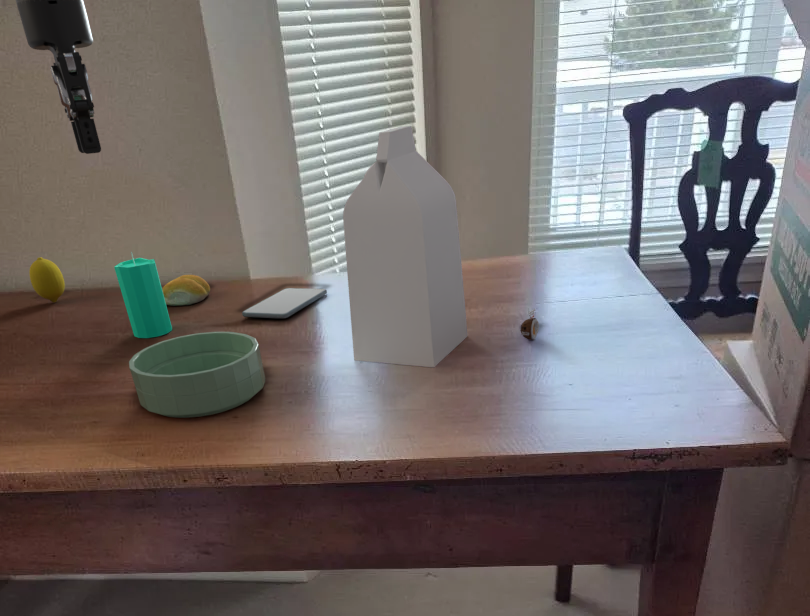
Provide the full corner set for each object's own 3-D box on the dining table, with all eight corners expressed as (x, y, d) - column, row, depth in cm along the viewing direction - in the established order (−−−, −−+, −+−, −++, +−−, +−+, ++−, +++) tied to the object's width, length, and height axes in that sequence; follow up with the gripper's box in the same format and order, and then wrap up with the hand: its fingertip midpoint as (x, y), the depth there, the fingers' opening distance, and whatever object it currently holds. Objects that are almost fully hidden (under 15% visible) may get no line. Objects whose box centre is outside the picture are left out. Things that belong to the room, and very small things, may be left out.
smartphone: (328, 288, 124) (285, 314, 113) (329, 294, 125) (286, 320, 113) (285, 287, 127) (239, 312, 115) (286, 293, 127) (240, 318, 116)
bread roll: (215, 290, 133) (210, 268, 130) (202, 305, 125) (197, 281, 123) (170, 294, 133) (165, 271, 131) (155, 308, 126) (149, 284, 123)
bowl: (201, 431, 82) (189, 384, 79) (116, 408, 89) (102, 365, 86) (291, 382, 92) (283, 340, 89) (207, 366, 99) (198, 326, 96)
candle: (153, 339, 111) (130, 257, 104) (125, 336, 114) (101, 255, 107) (180, 327, 115) (160, 247, 109) (153, 324, 118) (132, 246, 111)
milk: (434, 367, 92) (420, 133, 78) (354, 360, 97) (326, 137, 82) (467, 336, 101) (460, 120, 86) (393, 331, 105) (374, 125, 91)
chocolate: (526, 334, 100) (527, 304, 98) (541, 336, 99) (542, 306, 96) (516, 341, 98) (516, 311, 96) (531, 343, 97) (531, 313, 94)
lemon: (45, 308, 132) (29, 262, 127) (34, 303, 135) (18, 258, 131) (75, 300, 135) (60, 255, 130) (64, 296, 138) (49, 252, 134)
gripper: (16, 9, 91) (58, 155, 99) (14, -10, 80) (62, 156, 88) (79, 7, 94) (114, 149, 102) (86, -13, 82) (126, 150, 90)
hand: (90, 152), depth 95 cm, fingers open, 8 cm apart
